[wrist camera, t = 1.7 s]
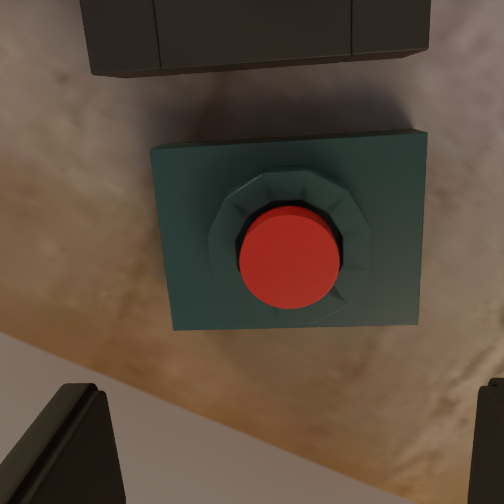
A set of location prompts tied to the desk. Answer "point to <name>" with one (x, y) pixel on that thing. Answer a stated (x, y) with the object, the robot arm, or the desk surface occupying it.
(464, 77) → the desk surface
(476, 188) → the desk surface
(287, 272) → the switch button
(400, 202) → the switch box
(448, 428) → the desk surface
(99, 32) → the socket block
